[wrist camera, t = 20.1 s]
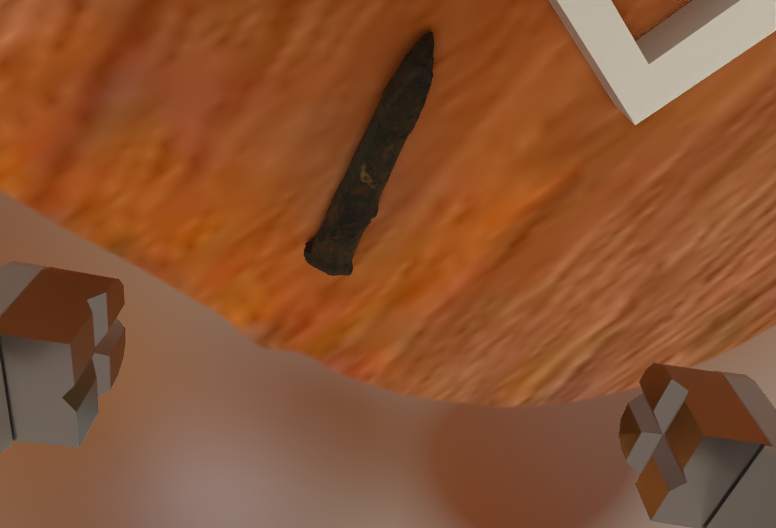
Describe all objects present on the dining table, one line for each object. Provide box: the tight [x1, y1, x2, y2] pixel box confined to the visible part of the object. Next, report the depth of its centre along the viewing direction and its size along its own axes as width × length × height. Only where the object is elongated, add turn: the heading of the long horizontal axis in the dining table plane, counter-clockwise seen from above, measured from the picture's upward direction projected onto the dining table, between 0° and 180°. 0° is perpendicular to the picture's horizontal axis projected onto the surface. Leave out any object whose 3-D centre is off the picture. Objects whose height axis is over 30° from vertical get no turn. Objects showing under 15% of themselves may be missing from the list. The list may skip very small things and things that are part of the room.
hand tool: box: [304, 32, 434, 276], centre depth 46 cm, size 19×4×5 cm, turn 153°
